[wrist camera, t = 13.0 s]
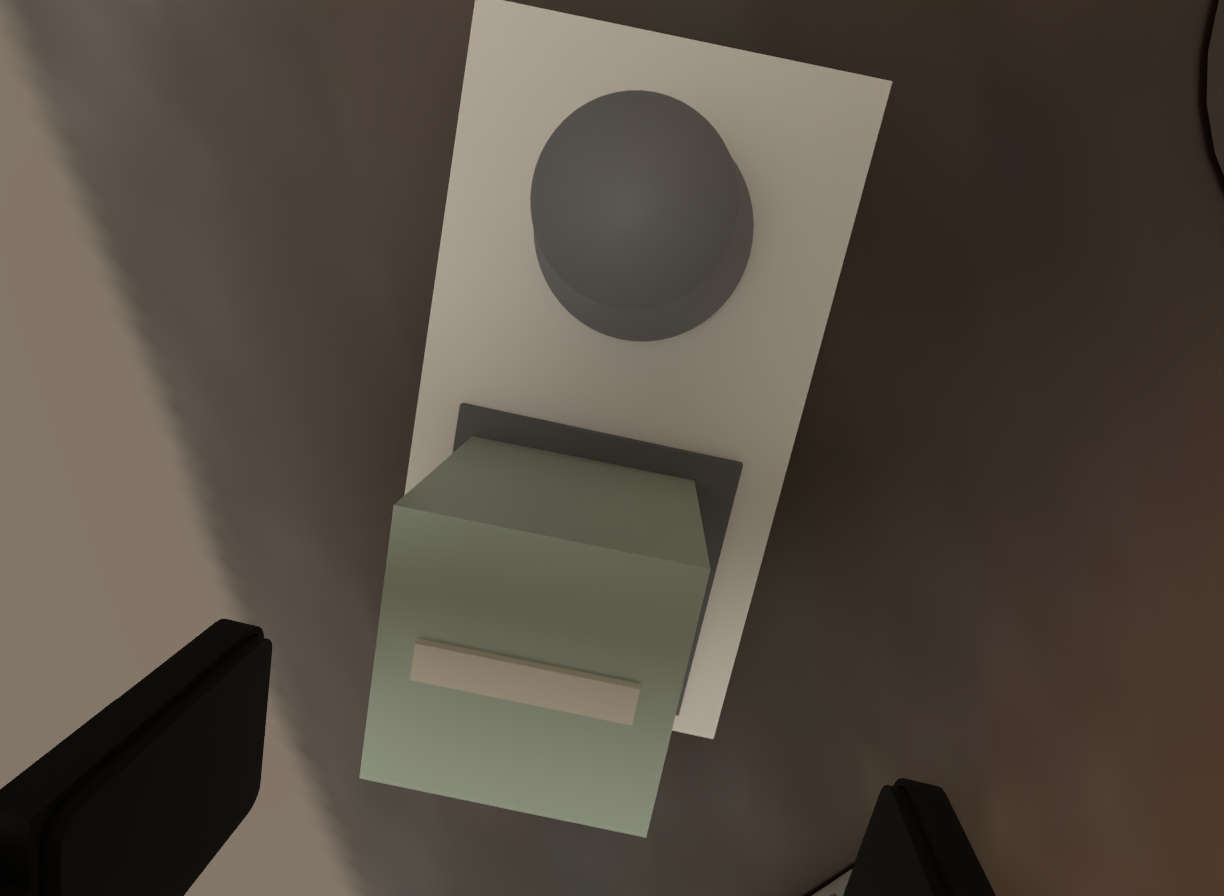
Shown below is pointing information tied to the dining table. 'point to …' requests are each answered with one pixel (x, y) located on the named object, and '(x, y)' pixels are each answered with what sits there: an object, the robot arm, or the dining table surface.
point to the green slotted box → (536, 634)
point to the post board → (684, 373)
